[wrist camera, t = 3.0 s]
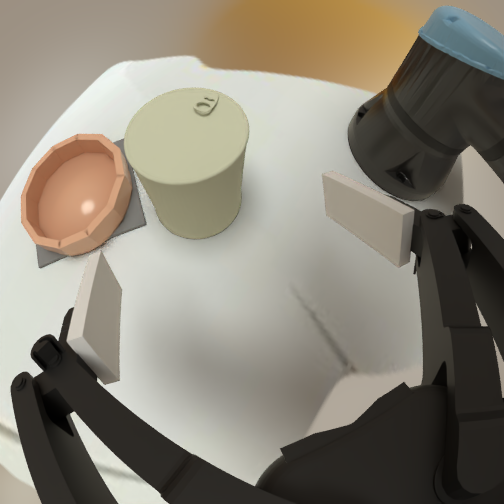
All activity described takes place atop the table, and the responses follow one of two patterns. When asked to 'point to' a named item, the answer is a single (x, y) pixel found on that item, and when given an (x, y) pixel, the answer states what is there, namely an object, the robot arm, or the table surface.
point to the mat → (129, 222)
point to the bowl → (76, 195)
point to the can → (190, 159)
